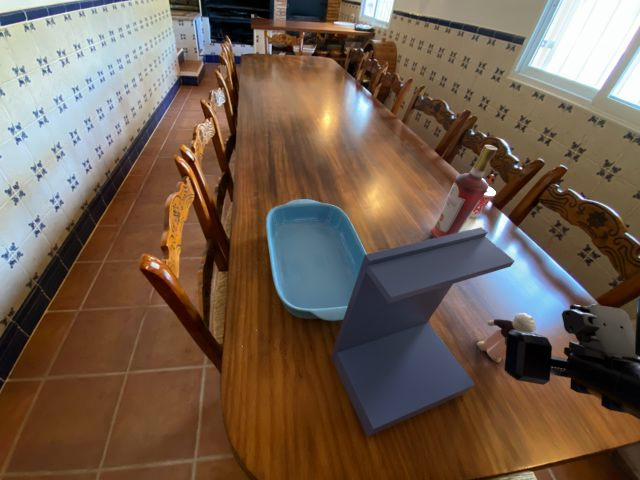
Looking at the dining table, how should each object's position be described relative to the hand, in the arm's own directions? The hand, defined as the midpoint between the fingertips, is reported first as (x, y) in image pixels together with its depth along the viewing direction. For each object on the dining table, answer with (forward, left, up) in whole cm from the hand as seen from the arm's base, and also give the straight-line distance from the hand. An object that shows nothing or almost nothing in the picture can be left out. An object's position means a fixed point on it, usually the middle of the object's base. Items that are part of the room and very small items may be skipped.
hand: (535, 345), depth 48 cm
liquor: (+34, -16, -11) cm, 39 cm away
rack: (+6, +19, -11) cm, 23 cm away
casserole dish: (+34, +24, -11) cm, 43 cm away
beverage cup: (+40, -34, -11) cm, 54 cm away
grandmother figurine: (+4, -2, -11) cm, 12 cm away
